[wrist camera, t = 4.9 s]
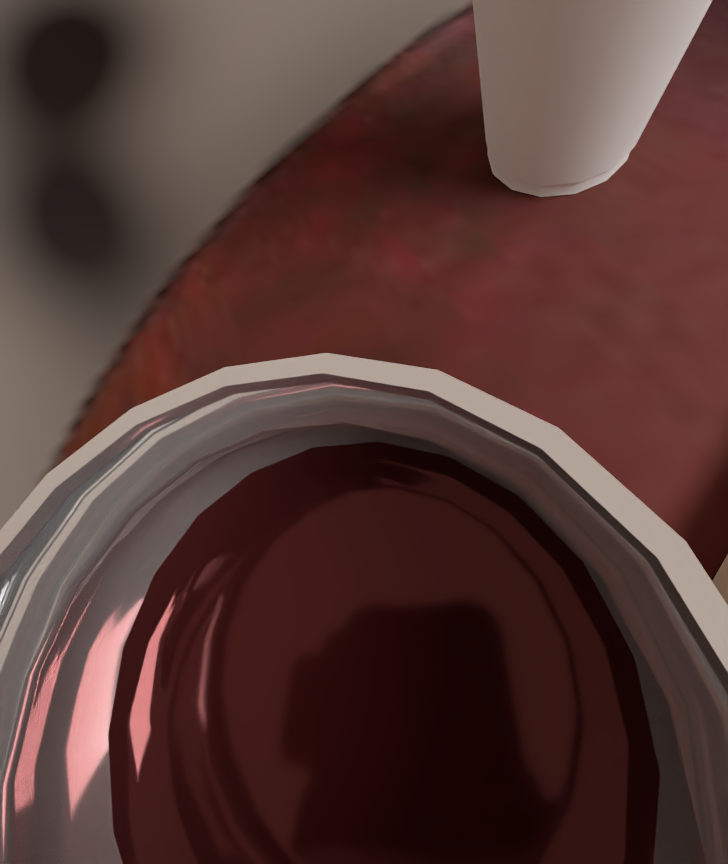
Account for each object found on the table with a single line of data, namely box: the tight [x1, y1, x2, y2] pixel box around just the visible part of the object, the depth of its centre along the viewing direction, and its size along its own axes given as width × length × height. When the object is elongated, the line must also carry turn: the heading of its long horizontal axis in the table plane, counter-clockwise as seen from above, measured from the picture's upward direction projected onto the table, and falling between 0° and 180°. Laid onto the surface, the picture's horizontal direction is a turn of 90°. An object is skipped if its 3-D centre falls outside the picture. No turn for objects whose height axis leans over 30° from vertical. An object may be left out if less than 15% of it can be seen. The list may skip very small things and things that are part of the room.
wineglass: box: [0, 353, 728, 864], centre depth 8 cm, size 7×7×12 cm
